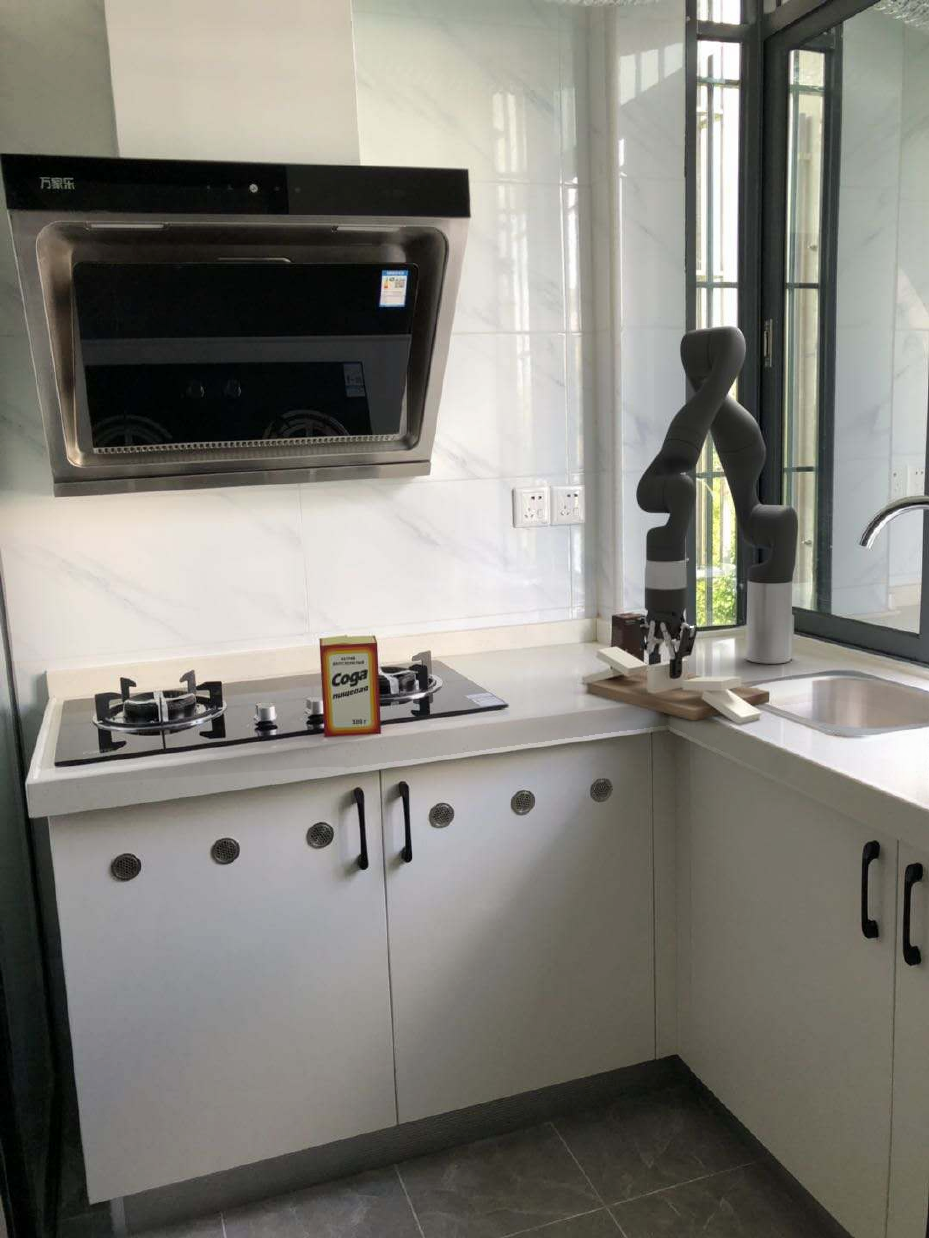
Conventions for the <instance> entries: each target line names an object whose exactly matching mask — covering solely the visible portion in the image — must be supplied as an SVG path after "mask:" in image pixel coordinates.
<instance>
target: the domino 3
mask: <svg viewBox="0 0 929 1238" xmlns="http://www.w3.org/2000/svg"><path fill="white" fill-rule="evenodd" d="M647 670H648V678H647V692H649V693H653V694H655V693H659V692H663V691H668V690H672V689H677V688H681V687H683V685H682V681H684V680H688V674H689V659H685V658H683V659H682V674H681V676H680V678H677V679H671V678H670V676H669V675H670V660H668V661H663V662H661V663H658V664H653V665H649V664H648V667H647Z"/></svg>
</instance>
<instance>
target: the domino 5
mask: <svg viewBox="0 0 929 1238" xmlns="http://www.w3.org/2000/svg"><path fill="white" fill-rule="evenodd" d="M702 699H703V700H704V701H706V702H707V703H709V704H710V705H711V706H713V707H714V708H716V709H717V710H718V711H720V712H721V713H722V714H723V715H724V716H725V717H727V718H728V719H729V720H731V721H733V722H734V723H736V724H739V725H740V724H744V723H749V722H751V721H757V720H759V719H760V718H761V716H762V715H761V714H762V712H761V711H760V710H758V709H757V708H756V707H754V705H753V706H751V705H750V704H748V703H747V702H745V701H744V700H742V699H741V698H740V697H738V696H737V695H735V694H734V693H732V692H731V691H729V690H728V689H727V690H723V691H713V690H704V692H703V695H702Z"/></svg>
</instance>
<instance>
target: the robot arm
mask: <svg viewBox="0 0 929 1238" xmlns="http://www.w3.org/2000/svg"><path fill="white" fill-rule="evenodd" d="M679 345H680V347H679V350H680V351H679V352H680V362H681V365H682V367H683V370H684V371H683V372H684V373H685V376H686V378H687V380H688V382H689V384H690V386H691V389H692V390H693V393H694V395H693V396H692V397H691V398H690V399H689V400H688V401H686V403H685V404H684V405H683V406H682V407H681V408H680V410H678V412H677V413H676V414H675V416H673V418H672V420H671V422H670V424H669V426H668V429H667V431H666V434H665V437H664V440H663V442H662V445H661V449H660V451H659V452H658V454H656V456H655V457H654V459H653V460H652V461H651V462H650V464H649V465H648V467H647V469H646V470H645V471H644V472H643V474H642V476H641V477H640V479H639V481H638V484H637V487H636V491H635V492H636V493H635V494H636V502H637V503H636V504H637V505H638V507H639V508H640V509H641V510H642V511H643V512H646V513H649V514H669V517H668V519H667V521H666V524H665V525H659V526H655V527H651V528H650V529H648V530H647V533H646V536H645V537H646V538H645V539H646V541H645V542H646V543H645V550H646V551H645V553H646V554H645V559H646V560H645V567H644V609H645V611H647V613H646V614H645V615H646V617H641V618H636V619H635V626H636V631H637V636H638V641H639V645H640V649H642V650H643V649H644V651H645V652H646V653H647V654H648V665H653V664H658V663H662V654H661V649H662V645H663V643H665V647H666V648H668V653H669V657H670V658H669V661H670V675H669V676H670V678H671V679H677V678H680V676H681V674H682V659H684V658H685V657H689V656H692V653H693V649H694V645H695V641H696V636H697V633H698V629H699V628H698V626H697V625H695V624H694V625H691V624H688V623H687V622H686V619H685V616H684V612H685V611H686V609H687V585H688V583H687V581H688V580H687V578H688V577H687V575H688V574H687V573H688V572H687V564H686V548H687V547H686V540H687V539H686V538H687V533H688V529H689V526H690V521H691V517H692V514H693V510H694V507H695V504H696V500H697V487H696V484H695V482H694V481H693V479H692V478H691V477H690V476H689V475H687V474H685V473H689V472H690V471H692V470H693V469H695V468H696V467H697V464H698V462H699V459H700V456H701V454H702V451H703V448H704V444H705V442H706V439H707V437H708V436H707V435H708V433H709V432H710V435H711V438H712V443H713V445H714V446H713V447H714V449H715V451H716V454H717V457H718V460H719V462H720V465H721V468H722V470H723V473H724V475H725V476H724V477H725V479H726V482H727V484H728V488H729V491H730V495H731V499H732V503H733V507H734V511H735V516H736V520H737V524H738V528H739V529H738V530H739V532H740V533H739V534H740V535H741V538H742V540H743V542H744V543H745V544H746V545H747V546H748V547H750V548H754V549H767V550H768V549H769V550H771V551H770V555H769V557H768V559H766V560H765V561H764V562H762V563H758V564H753V565H751V566H750V567H749V568H748V570H747V586H746V587H747V591H746V592H747V598H746V635H745V636H746V638H745V639H746V642H745V643H746V645H745V659H746V661H749V662H752V663H757V664H758V663H759V664H769V665H770V664H771V665H773V664H774V665H775V664H783V663H789V662H790V661H791V659H794V641H795V639H794V638H795V615H794V614H792V613H793V588H794V587H793V582H794V572H795V567H796V557H797V544H798V532H799V519H798V515H797V512H796V510H795V509H794V508H793V507H792V506H791V505H782V504H762V503H761V502H760V501H759V499H758V495H757V490H756V487H757V482H758V479H759V477H760V475H761V472H762V471H763V467H764V466H765V462H766V458H767V449H766V445H765V442H764V439H763V435H762V432H761V429H760V425H759V423H758V422H757V421H756V419H755V418H754V417H753V415H752V414H751V413H750V412H749V411H748V410H747V409H745V407H743V406H742V405H741V404H740V403H739V402H738V401H736V400H735V399H734V398H733V397H732V396H731V395H730V394H729V392H730V390H731V388H732V387H733V385H734V383H735V381H736V380H737V377H738V376H739V374H740V372H741V369H742V367H743V365H744V361H745V359H746V358H745V357H746V353H747V352H746V350H747V348H746V347H747V344H746V339H745V337H744V334H743V333H742V331H741V329H740V328H738V327H737V326H735V325H721V326H720V325H719V326H714V327H713V326H712V327H705V328H698V329H693V330H690V331H688V332H686V333H685V334H683V337H682V338H681V340H680V344H679ZM644 636H645V639H644ZM673 640H674V641H673Z"/></svg>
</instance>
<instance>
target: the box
mask: <svg viewBox="0 0 929 1238" xmlns="http://www.w3.org/2000/svg"><path fill="white" fill-rule="evenodd" d="M646 615H647V614H642V613H637V612H633V611H632V612H626V613H623V612H622V613H618V614H613V615H611V634H610V635H611V638H610V648H611V647H618V648H620V649H622V650H623V651H625V652H627V653H628V654H630V655H632V656H634V657H635V658H637V659H639V660H641V661H642V662H644V663H645V650H644V649H643V650H642V649H640V645H639V641H638V636H637V631H636V626H635V619H636V618H641V617H646ZM644 639H645V640H646V637H645V636H644ZM611 668H613V667H611V666H610V669H611Z"/></svg>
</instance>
